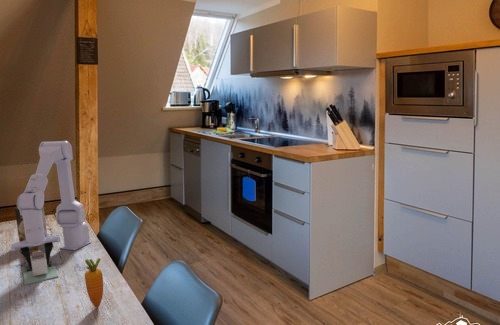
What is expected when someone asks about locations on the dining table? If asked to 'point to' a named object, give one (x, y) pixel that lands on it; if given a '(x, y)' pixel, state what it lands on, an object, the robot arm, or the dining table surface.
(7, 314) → the dining table surface
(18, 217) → the coffee box
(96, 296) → the carrot
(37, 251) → the hand plane
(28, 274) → the mat
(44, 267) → the lever cap
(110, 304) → the dining table surface
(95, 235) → the dining table surface
